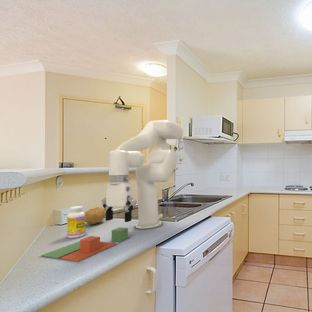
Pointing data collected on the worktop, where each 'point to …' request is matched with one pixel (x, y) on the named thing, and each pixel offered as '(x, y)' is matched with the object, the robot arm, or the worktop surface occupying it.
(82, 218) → the supplement bottle
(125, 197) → the robot arm
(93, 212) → the potato
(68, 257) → the sorting mat
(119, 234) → the sage block
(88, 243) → the terracotta block
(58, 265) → the worktop surface
